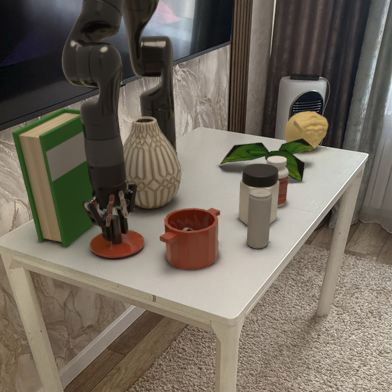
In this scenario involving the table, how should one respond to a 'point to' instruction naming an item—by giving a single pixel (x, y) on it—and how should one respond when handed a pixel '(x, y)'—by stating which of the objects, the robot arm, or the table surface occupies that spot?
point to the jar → (258, 179)
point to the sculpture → (306, 128)
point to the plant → (259, 150)
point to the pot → (191, 237)
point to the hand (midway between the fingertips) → (116, 236)
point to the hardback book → (55, 175)
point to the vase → (151, 164)
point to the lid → (117, 242)
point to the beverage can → (259, 217)
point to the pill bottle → (280, 177)
